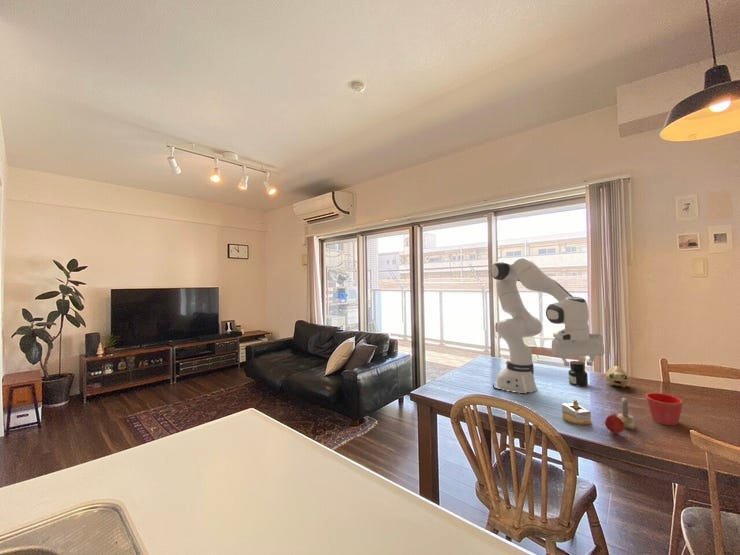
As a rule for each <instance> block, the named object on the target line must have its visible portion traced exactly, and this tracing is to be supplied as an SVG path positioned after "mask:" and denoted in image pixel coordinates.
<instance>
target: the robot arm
mask: <svg viewBox="0 0 740 555" xmlns="http://www.w3.org/2000/svg"><path fill="white" fill-rule="evenodd" d="M490 274H491V277H492V278H493V279H494V280H496V284H495V287H496V291H497V296H498V299H499V302H500V307H501V310H502V311H503V312H505V313H507V314H509V315H510V316H511V318H506V319H503V320H500V321H499V322H498V323H497V325H496V332H497V334H498V336H499V337H501V339H503V340H504V341H505V343H506V344H507V347H508V350H509V351H508V352H509V360H508V359H507V360H506V361H505V364H506V368H505V369H503V370H501V371H500V372H498V374H497V376H496V380H497V382H495V383H496V387H498V388H500V389H504V390H509V391H515V392H519V393H518V394H520V393H525V394H528V393H527V392H529V393H534V392H536V391H538V387H537V385H536V380H535V377H534V376H535V373H534V372H535V367H534V363H533V353H532V352H533V351H532V348H531V347H530V346H529V345H527V344H525V342H524V338H531V337H534V336H537V335H540V334H541V333H542V330H543V324H542V322H541V321H540V320H539V318H537V317H535V316H533V315H532V314H531V313H530V312H529V311H528V310H527V308H526V307H525V305H524V303H523V300H522V298H521V294H520V292H519V289H518V287H517V282H520V283H521V285H522V286H523V287H524V288H525V289H527V290H529V291H533V292H541V293H544V294H548V295H550V296H551V297H554V299H556V301H557V302H554V303H551V304H548V306H547V307H546V310H545V317H546V318H547V320H548V321H549V322H550V323H551V324H555V325H559V324H561V325H562V324H564V329H561V330H557V331H554V332H553V334H552V335H553V336H552V337H553V339H552V342H551V354H553V356H555V357H560V358H561V360H562V361H563V366H565V367H570V362H569V361H568V360H567V357H589V358H588V360H586V365H587V366H588V367H592V366H593V365H594V364H593V362H594V360H595V359H596V356H597V357H599V356H600V357H601V356H604V355H605V346H604V343H603V342H604V337H603V335H601V334H600V333H590V326H589V318H590V315H589V307H588V303H587V300H586V299H585V298H583V297H580V296H579V297H578V296H573V295H571V294H570V292H568V290H566V289H565V288H564V287H563V286H562V285H561V284H560V283H558V281H556V280H555V279H552V277H549V276H548V275H547V274H545V273H544V272H543V271H542V270H541V269H540V268H539V266H537V265H536V264H535V263H534V262H533V261H532V260H531V259H529V258H528V257H524V256H521V257H518V258H516V259H509V260H503V261H501V260H500V261H496V262H494V263H493V264H491V268H490ZM509 391H508V392H509ZM533 391H534V392H533Z"/></svg>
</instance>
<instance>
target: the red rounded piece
mask: <svg viewBox="0 0 740 555" xmlns="http://www.w3.org/2000/svg"><path fill="white" fill-rule="evenodd" d="M604 424H605V427H606V429H607V430H609V432H611V433H613V434H614V435H618V434H620V433H622V432H624V430H625V428H624V423H623V422H622V420H621V419H620V418H618V415H617V414H616V413H612V414H611V415H609V416H607V417H606V418H605V421H604Z"/></svg>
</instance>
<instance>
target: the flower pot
mask: <svg viewBox="0 0 740 555" xmlns="http://www.w3.org/2000/svg"><path fill="white" fill-rule="evenodd" d="M645 398H646V402H647V406H648V409H649V412H650V415H651V418H652V420H653V421H654V422H656V423H659V424H661V425H662V424H663V425H666V426H677V425H678V424H679V422H680V417H681V413H682V408H683V403H684V402H683V400H682V399H680V398H679V397H676V396H674V395H672V394H671V395H670V394H666V393H659V392H649V393H646V394H645Z"/></svg>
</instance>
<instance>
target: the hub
mask: <svg viewBox="0 0 740 555" xmlns="http://www.w3.org/2000/svg"><path fill="white" fill-rule="evenodd" d="M572 403H573V409H575V410H576V409H578V405H579V403H578V400H577V399H574V401H573V402H572ZM563 419H564V420H565V421H564V420H563ZM562 420H563V421H564V422H566V423H568V424H570V423H571V425H573V424H575V426H578V425H580V426H579V427H587V425H588V426H590V425H591V424H592V418H591V419H581V420H577V419H575V418H573V417H572V416H570V415H569V414H567V413H566V412H564V411H562Z"/></svg>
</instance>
